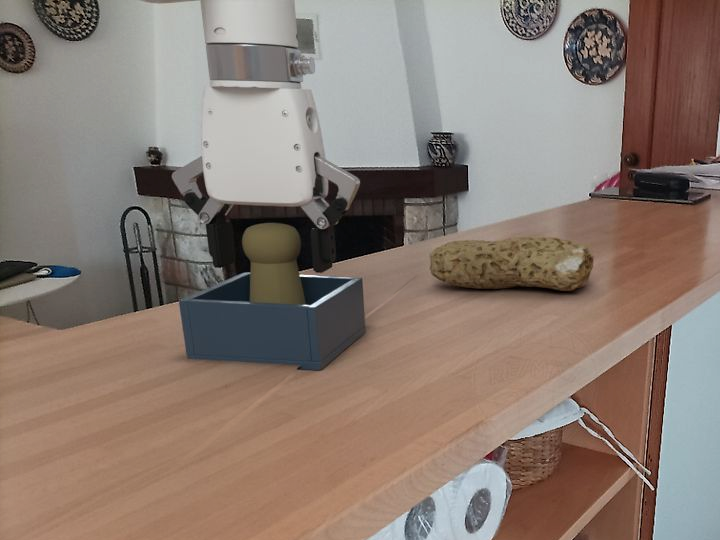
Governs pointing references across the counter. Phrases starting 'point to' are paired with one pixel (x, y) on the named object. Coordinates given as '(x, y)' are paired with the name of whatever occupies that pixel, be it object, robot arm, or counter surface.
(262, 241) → the cork
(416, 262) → the counter surface
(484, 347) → the counter surface
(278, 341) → the bin
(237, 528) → the counter surface
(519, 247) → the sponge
